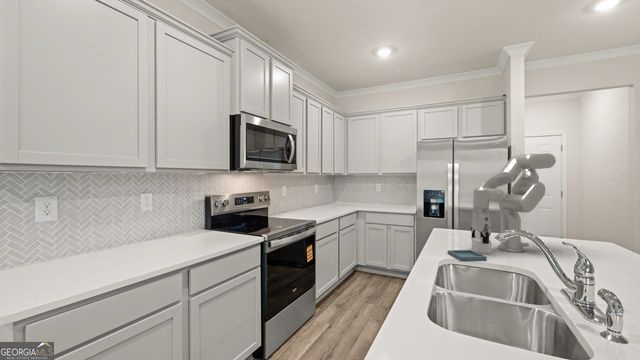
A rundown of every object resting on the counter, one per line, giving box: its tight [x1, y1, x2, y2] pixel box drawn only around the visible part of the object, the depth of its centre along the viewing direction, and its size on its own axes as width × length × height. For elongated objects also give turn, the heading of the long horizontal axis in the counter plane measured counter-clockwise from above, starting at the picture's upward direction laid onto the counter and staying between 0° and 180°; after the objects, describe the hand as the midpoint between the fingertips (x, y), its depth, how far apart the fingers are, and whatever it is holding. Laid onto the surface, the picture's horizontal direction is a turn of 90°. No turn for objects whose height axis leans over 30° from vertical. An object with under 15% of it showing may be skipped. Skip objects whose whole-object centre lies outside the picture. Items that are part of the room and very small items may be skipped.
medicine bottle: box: [471, 231, 492, 255], centre depth 151 cm, size 7×7×12 cm
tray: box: [447, 249, 488, 262], centre depth 142 cm, size 13×13×2 cm
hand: (479, 241), depth 151 cm, fingers open, 9 cm apart
